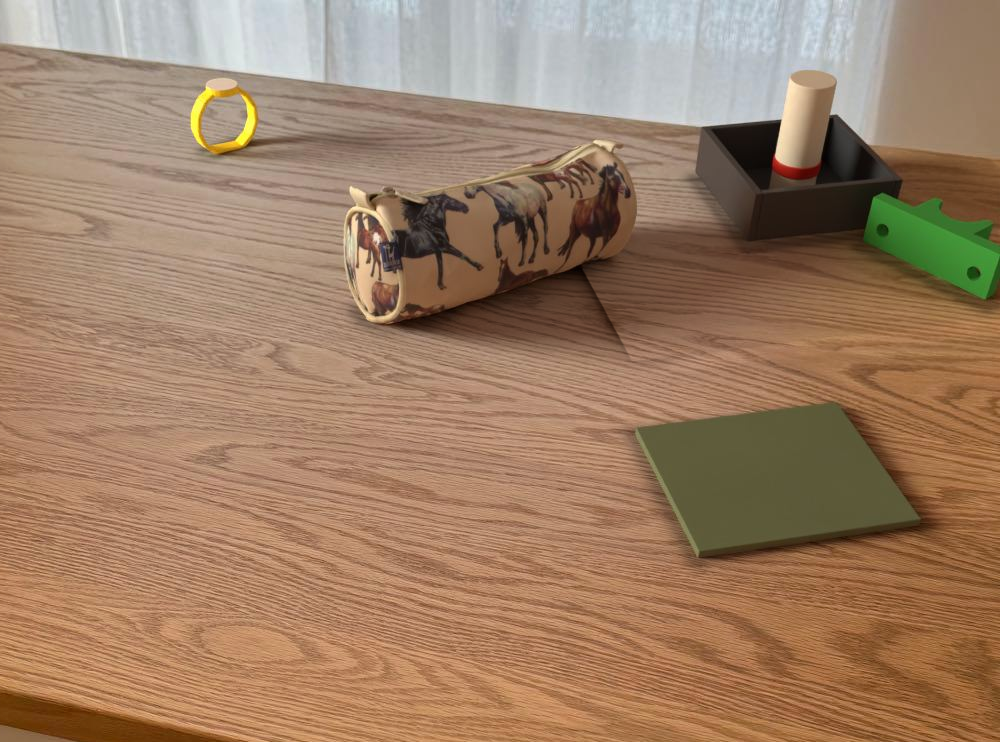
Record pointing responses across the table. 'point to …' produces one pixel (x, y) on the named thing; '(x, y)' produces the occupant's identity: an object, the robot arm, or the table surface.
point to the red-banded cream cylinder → (803, 129)
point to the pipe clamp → (936, 242)
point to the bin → (795, 210)
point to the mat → (773, 479)
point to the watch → (222, 90)
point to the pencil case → (485, 232)
